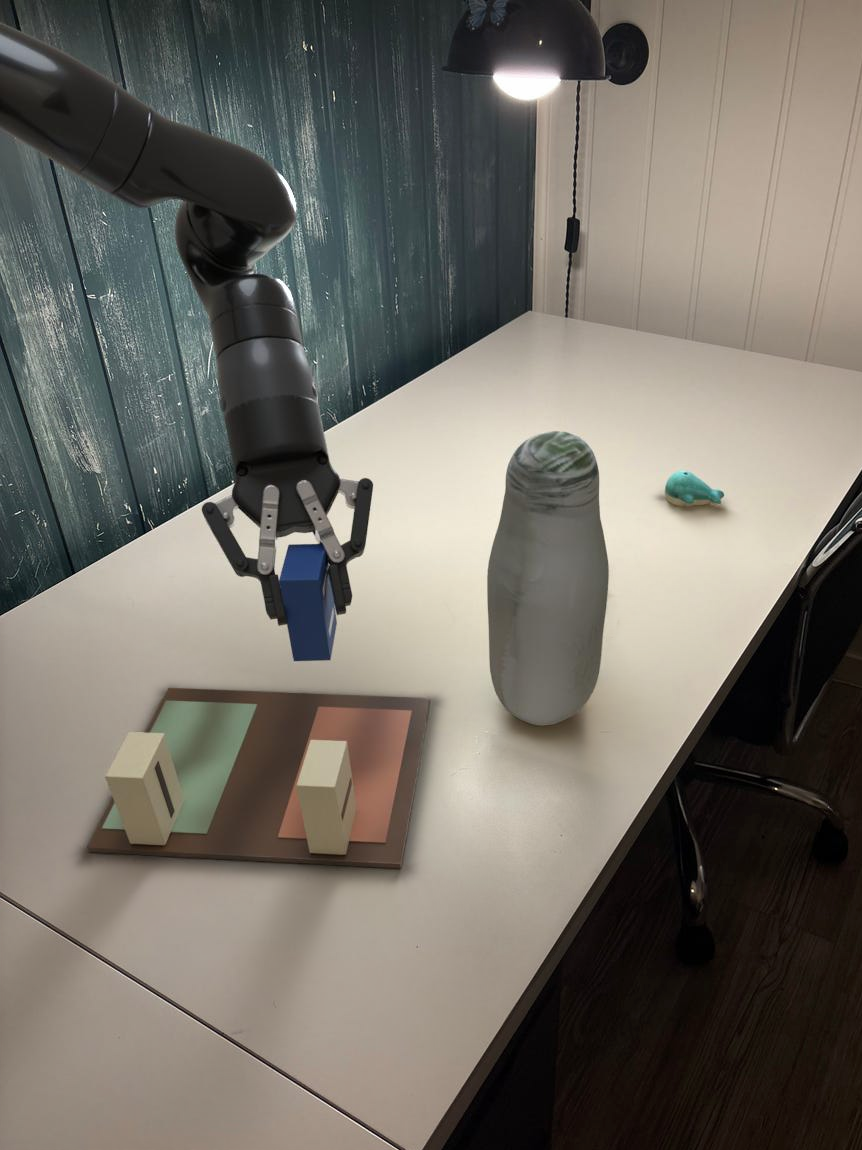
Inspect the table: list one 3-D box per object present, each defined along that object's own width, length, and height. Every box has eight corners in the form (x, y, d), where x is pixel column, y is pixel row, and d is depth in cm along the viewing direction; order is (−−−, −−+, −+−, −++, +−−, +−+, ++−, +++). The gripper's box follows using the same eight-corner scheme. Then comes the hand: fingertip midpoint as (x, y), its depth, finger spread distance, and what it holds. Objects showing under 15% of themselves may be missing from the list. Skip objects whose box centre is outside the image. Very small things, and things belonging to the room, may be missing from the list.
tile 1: (129, 844, 78) (103, 776, 73) (150, 798, 82) (127, 731, 77) (166, 846, 78) (142, 778, 73) (185, 800, 82) (164, 732, 77)
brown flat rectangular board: (88, 852, 78) (86, 846, 78) (169, 692, 94) (168, 686, 93) (400, 868, 76) (400, 863, 76) (430, 702, 92) (429, 697, 92)
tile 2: (308, 853, 77) (295, 785, 72) (321, 806, 81) (309, 739, 76) (346, 855, 77) (335, 787, 72) (357, 808, 80) (347, 740, 76)
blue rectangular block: (292, 661, 76) (278, 580, 71) (301, 623, 80) (287, 544, 75) (331, 660, 76) (319, 579, 71) (337, 622, 80) (326, 543, 75)
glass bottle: (570, 757, 86) (586, 482, 68) (472, 720, 90) (464, 452, 72) (613, 693, 93) (637, 428, 75) (519, 662, 97) (522, 403, 79)
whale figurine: (671, 485, 124) (674, 459, 122) (726, 496, 122) (731, 470, 120) (658, 506, 120) (661, 480, 118) (715, 518, 118) (719, 491, 115)
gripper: (357, 415, 81) (396, 610, 79) (186, 438, 78) (223, 641, 76) (362, 380, 74) (405, 594, 72) (173, 404, 71) (215, 628, 69)
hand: (311, 617), depth 74 cm, fingers closed on blue rectangular block, 4 cm apart
